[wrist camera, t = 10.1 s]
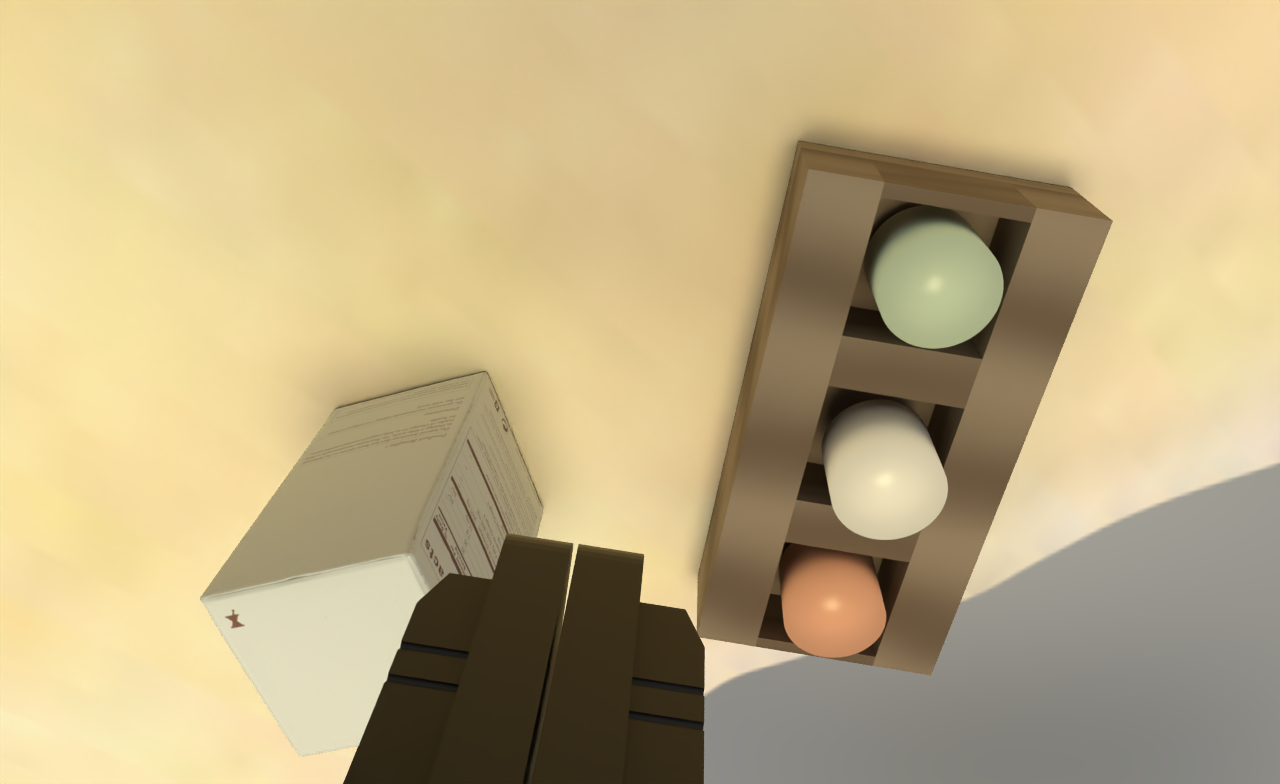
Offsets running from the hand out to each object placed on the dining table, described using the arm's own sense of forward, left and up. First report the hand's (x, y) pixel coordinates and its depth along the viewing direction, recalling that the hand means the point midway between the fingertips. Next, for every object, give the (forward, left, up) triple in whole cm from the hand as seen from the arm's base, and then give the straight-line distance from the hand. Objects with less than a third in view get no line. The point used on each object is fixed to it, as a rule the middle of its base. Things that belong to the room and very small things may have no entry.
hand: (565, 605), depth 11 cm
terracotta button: (+17, +10, -25) cm, 32 cm away
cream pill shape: (+10, +10, -23) cm, 27 cm away
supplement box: (+16, -7, -27) cm, 32 cm away
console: (+10, +10, -27) cm, 30 cm away
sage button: (+3, +10, -25) cm, 27 cm away
